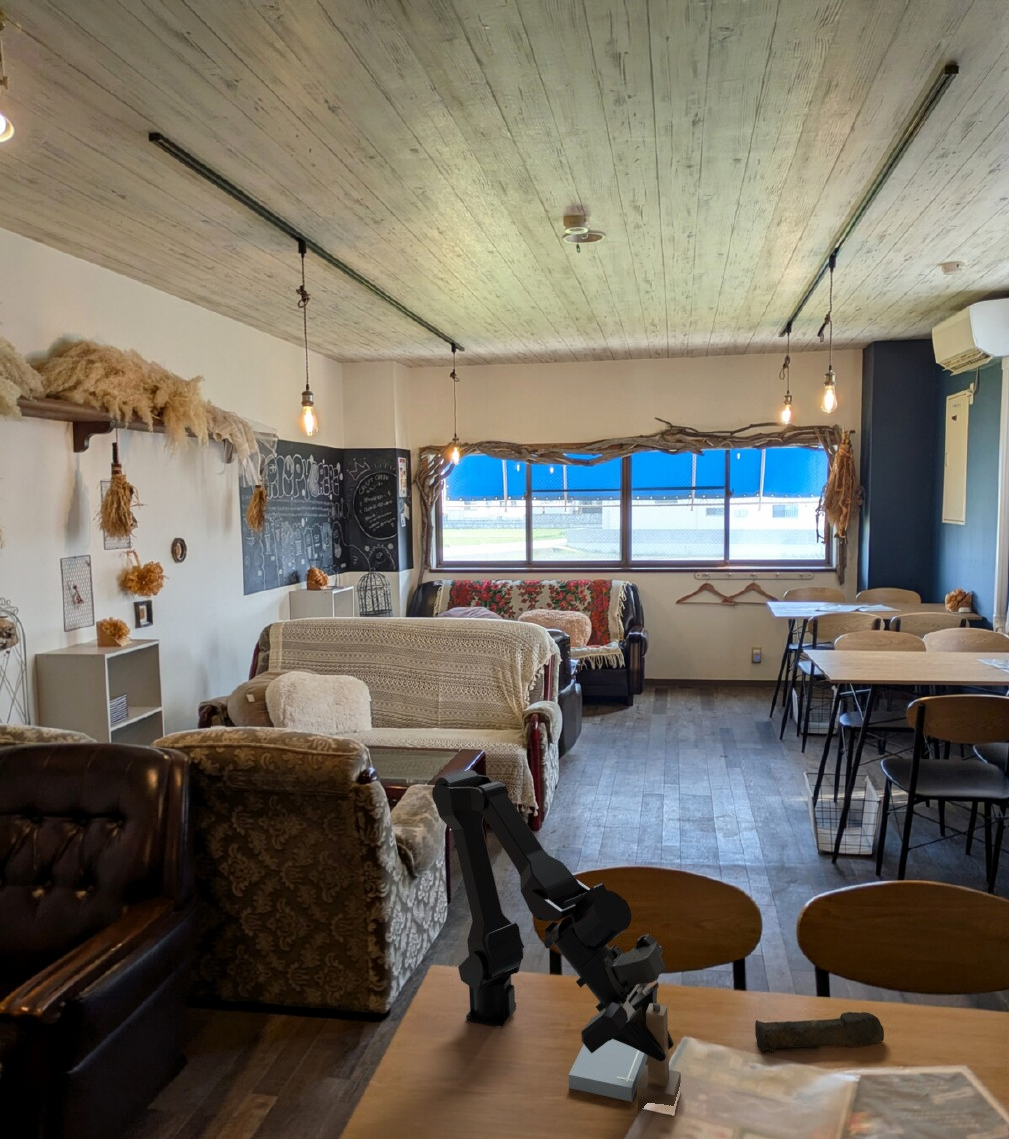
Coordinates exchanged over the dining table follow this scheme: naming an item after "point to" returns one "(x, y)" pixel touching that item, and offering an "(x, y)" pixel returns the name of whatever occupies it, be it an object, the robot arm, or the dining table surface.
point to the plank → (608, 1070)
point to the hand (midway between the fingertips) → (667, 1053)
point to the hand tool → (821, 1032)
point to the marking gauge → (658, 1064)
